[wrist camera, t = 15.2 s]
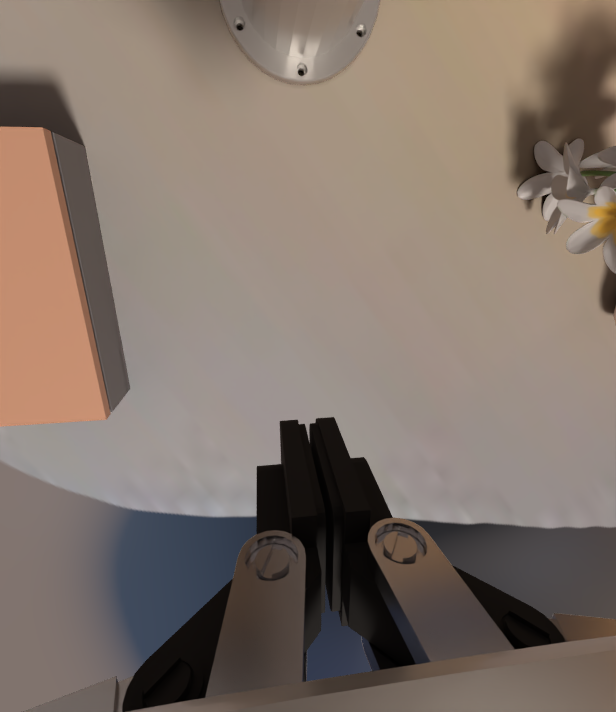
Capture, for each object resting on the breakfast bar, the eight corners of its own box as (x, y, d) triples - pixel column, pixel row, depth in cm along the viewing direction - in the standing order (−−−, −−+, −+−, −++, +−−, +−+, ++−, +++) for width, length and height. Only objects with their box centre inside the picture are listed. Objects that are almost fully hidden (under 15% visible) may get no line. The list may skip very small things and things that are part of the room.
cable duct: (-64, 143, 29) (-125, 128, 25) (84, 146, 30) (53, 132, 26) (13, 395, 37) (-22, 420, 32) (130, 388, 38) (112, 411, 33)
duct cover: (-138, 127, 24) (-154, 123, 23) (50, 130, 25) (42, 127, 25) (-31, 422, 32) (-40, 429, 31) (110, 414, 33) (106, 419, 32)
